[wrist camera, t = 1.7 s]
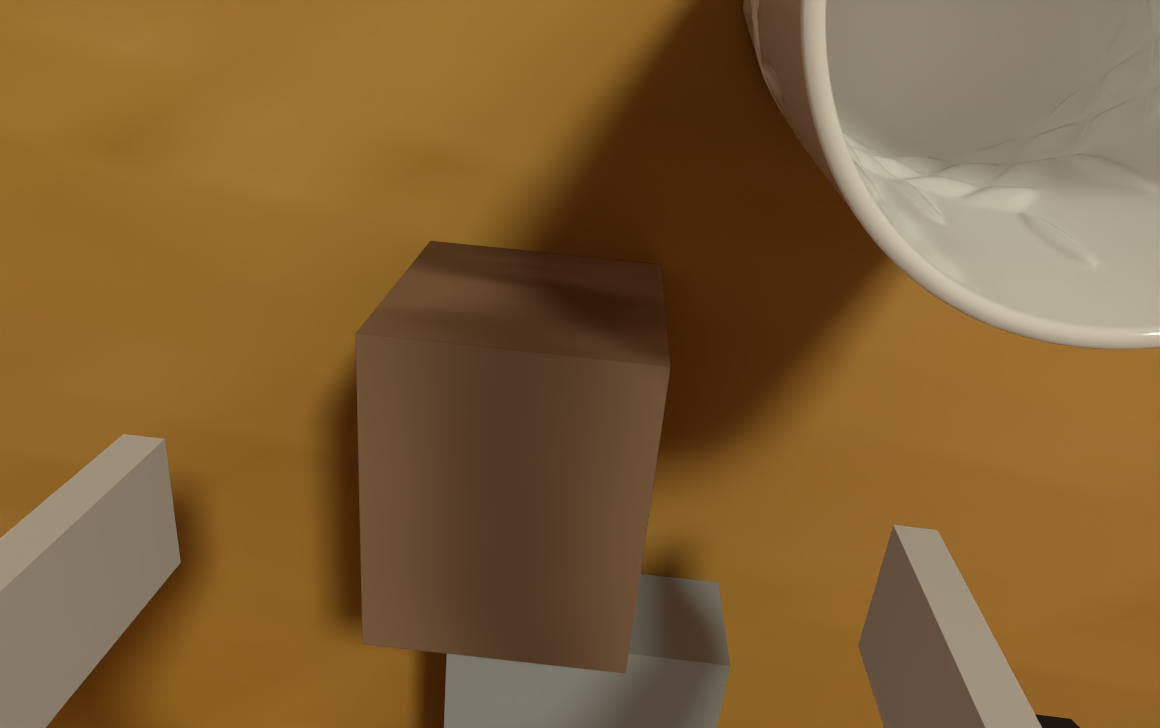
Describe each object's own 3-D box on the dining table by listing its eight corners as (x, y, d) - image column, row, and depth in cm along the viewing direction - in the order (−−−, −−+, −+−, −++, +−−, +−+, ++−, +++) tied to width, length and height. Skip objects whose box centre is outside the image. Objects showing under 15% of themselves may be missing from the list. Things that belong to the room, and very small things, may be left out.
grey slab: (460, 771, 28) (438, 873, 24) (472, 547, 24) (447, 632, 21) (672, 796, 28) (678, 902, 24) (717, 575, 24) (729, 665, 21)
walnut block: (427, 488, 23) (362, 644, 18) (431, 240, 20) (355, 334, 15) (627, 510, 23) (625, 673, 17) (660, 263, 20) (670, 366, 15)
